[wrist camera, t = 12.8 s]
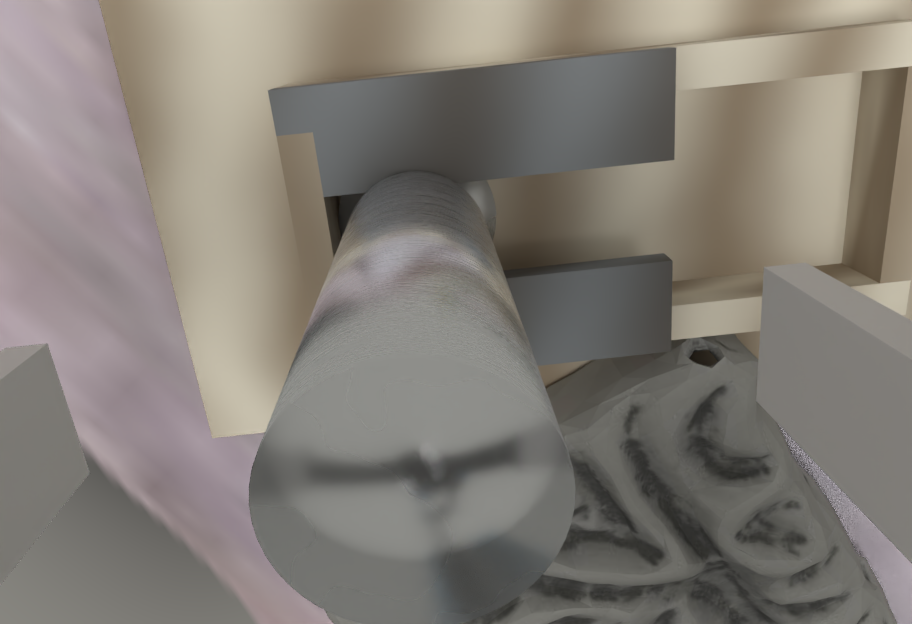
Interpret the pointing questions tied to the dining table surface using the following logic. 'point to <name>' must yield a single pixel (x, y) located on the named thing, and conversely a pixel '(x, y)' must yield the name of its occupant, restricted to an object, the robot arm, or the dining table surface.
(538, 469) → the peg
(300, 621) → the dining table surface
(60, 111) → the dining table surface
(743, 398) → the wall plaque
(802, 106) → the keyhole base
